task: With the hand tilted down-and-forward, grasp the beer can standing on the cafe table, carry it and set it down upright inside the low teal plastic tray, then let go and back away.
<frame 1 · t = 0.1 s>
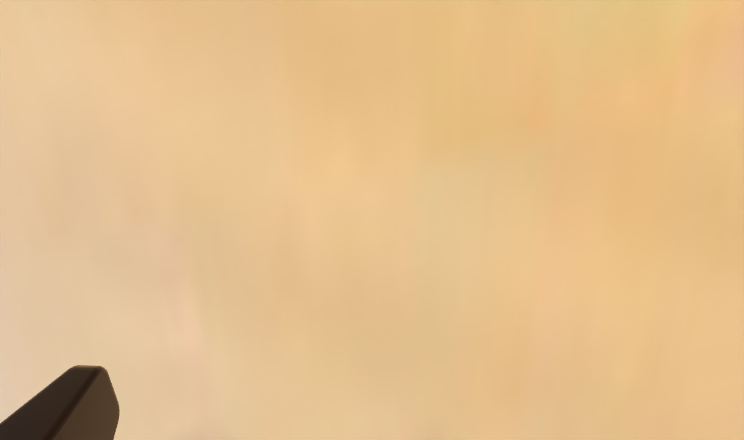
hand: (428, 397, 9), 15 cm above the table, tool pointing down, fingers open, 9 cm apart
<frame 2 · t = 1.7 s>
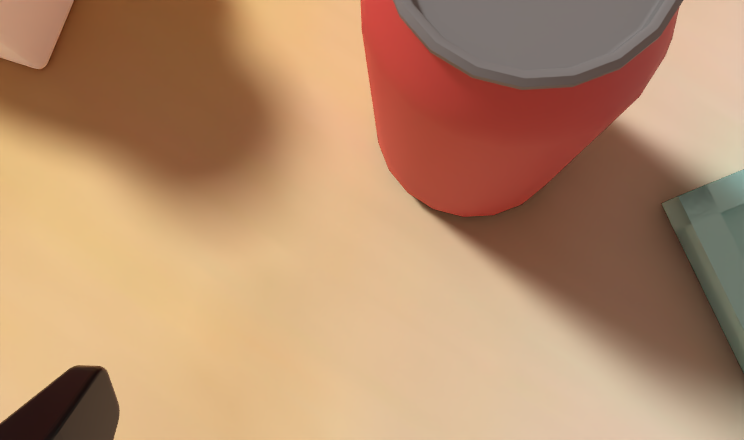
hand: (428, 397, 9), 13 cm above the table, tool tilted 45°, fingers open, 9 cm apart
beer can: (469, 130, 24), on the table
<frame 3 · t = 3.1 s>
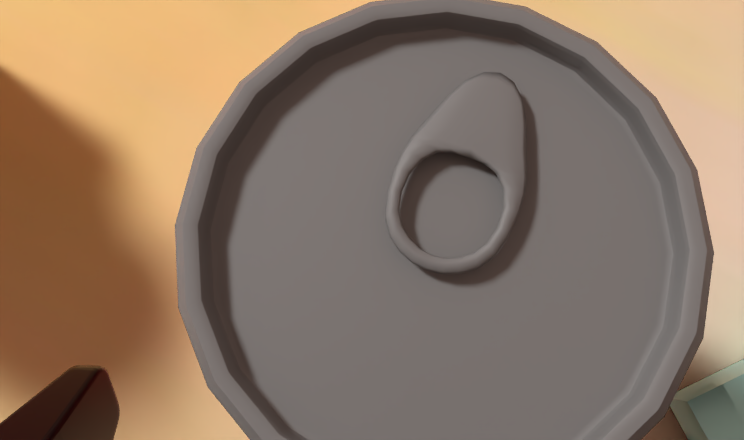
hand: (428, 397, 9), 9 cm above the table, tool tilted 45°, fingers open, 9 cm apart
beer can: (416, 308, 19), on the table
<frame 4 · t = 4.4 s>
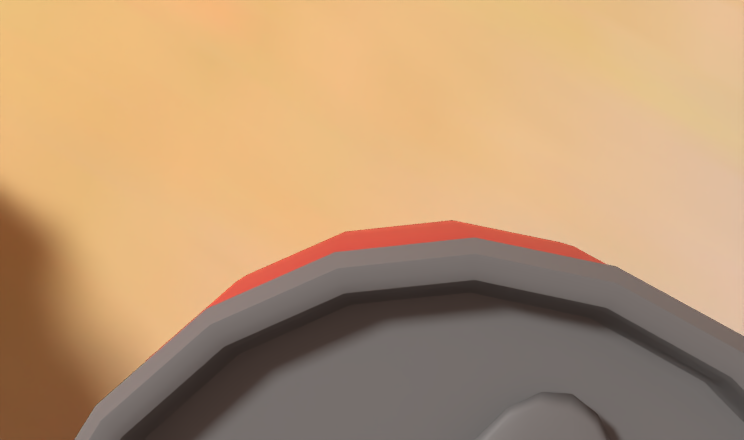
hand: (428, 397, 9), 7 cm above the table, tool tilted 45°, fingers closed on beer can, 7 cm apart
beer can: (416, 434, 15), on the table, touching gripper
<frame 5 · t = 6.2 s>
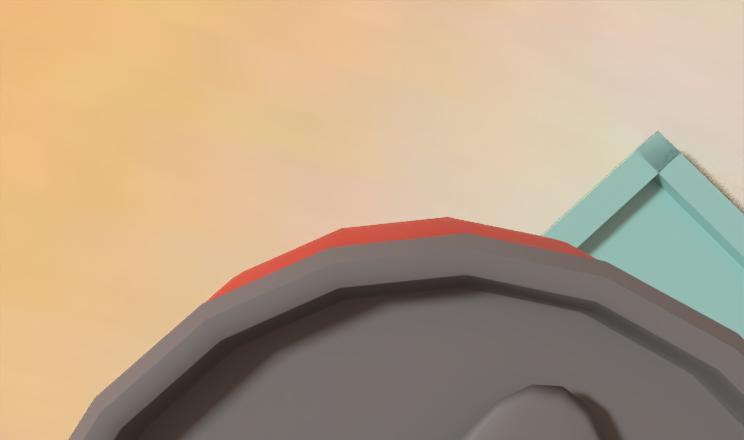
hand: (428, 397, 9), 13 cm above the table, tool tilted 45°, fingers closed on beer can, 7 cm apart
beer can: (414, 431, 16), point 6 cm above the table, touching gripper
when the fingers open (8 cm above the table, at t = 8.2 s): beer can stays where it is, resting on tray.
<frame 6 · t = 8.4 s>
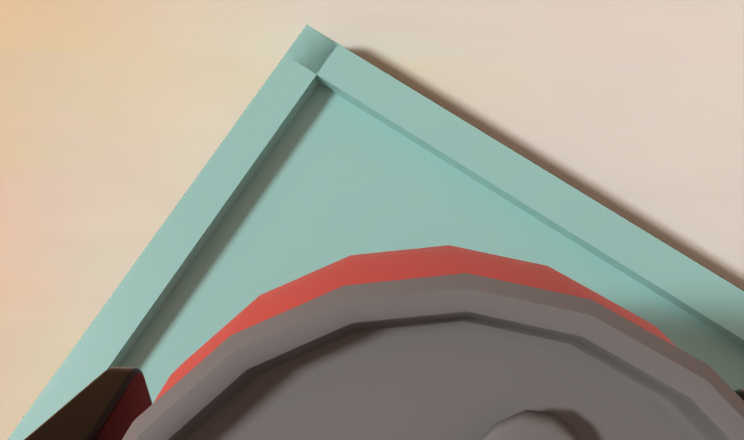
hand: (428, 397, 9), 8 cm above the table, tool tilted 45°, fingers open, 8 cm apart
tray: (416, 425, 17), on the table
beer can: (416, 436, 16), point 1 cm above the table, touching tray
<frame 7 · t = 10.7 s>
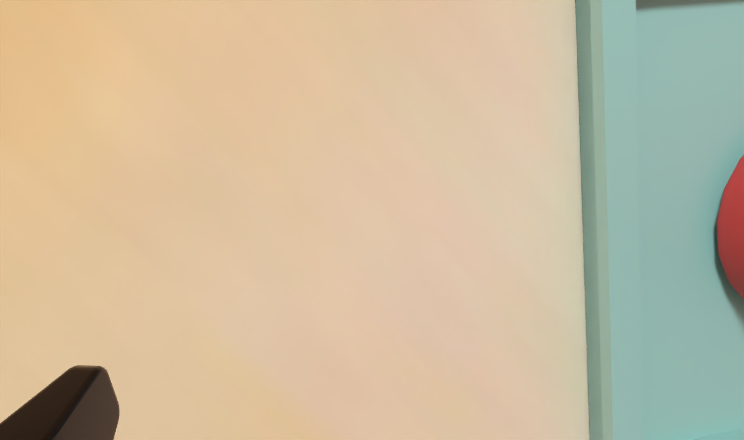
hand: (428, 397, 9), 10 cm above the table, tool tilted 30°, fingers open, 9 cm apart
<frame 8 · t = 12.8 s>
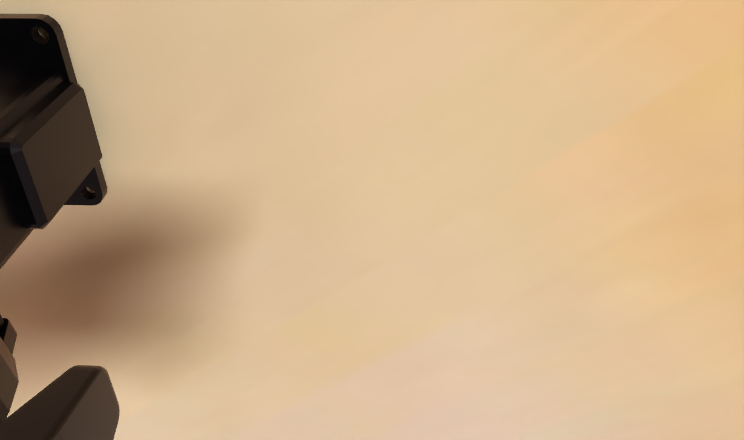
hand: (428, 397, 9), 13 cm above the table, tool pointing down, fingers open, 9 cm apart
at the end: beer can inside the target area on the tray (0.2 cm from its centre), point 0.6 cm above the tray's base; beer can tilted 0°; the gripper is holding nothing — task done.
